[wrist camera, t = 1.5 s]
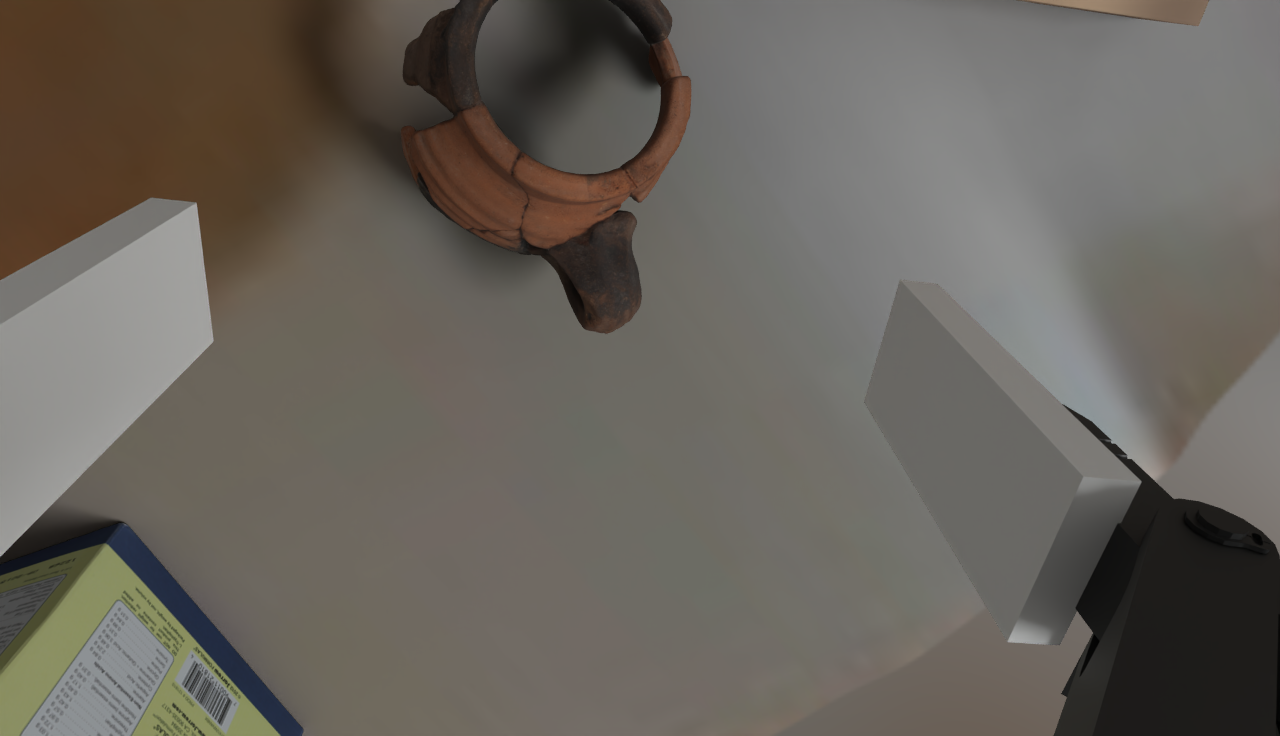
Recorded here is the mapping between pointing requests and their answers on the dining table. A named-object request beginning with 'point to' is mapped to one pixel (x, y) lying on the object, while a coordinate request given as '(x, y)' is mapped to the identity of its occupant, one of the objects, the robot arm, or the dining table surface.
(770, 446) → the dining table surface
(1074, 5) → the tan plinth
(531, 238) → the broken clay pot rim
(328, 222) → the dining table surface
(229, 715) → the protein box
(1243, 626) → the robot arm
